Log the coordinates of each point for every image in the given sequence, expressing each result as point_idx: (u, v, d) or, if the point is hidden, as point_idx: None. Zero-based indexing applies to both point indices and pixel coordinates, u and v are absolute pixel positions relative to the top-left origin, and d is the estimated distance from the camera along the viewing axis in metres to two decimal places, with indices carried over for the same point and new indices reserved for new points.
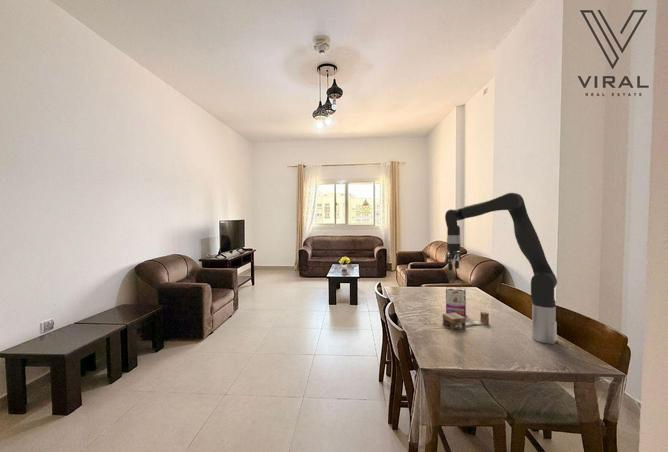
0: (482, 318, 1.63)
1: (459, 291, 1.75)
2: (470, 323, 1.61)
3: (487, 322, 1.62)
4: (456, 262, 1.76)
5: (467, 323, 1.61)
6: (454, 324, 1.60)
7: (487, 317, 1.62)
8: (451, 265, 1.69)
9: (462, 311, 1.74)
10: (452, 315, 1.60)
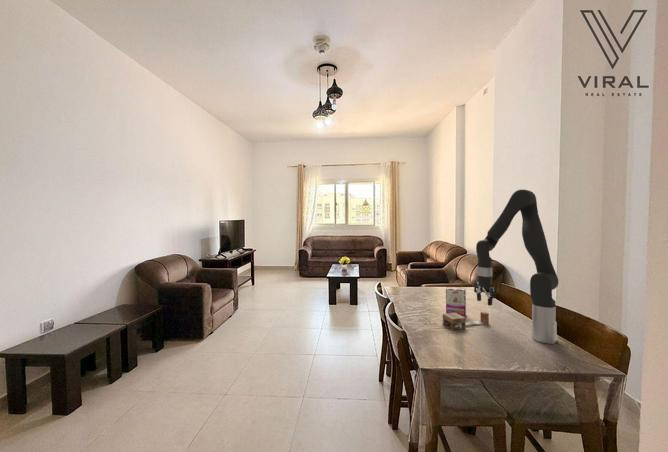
0: (482, 318, 1.63)
1: (459, 291, 1.75)
2: (470, 323, 1.61)
3: (487, 322, 1.62)
4: (479, 294, 1.67)
5: (467, 323, 1.61)
6: (454, 324, 1.60)
7: (487, 317, 1.62)
8: None
9: (462, 311, 1.74)
10: (452, 315, 1.60)
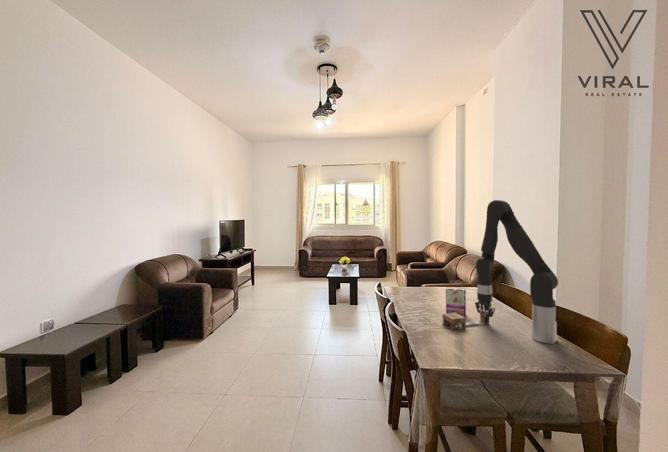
0: (482, 318, 1.62)
1: (459, 291, 1.75)
2: (470, 323, 1.61)
3: None
4: None
5: (467, 323, 1.61)
6: (454, 324, 1.60)
7: None
8: None
9: (462, 311, 1.74)
10: (452, 315, 1.60)
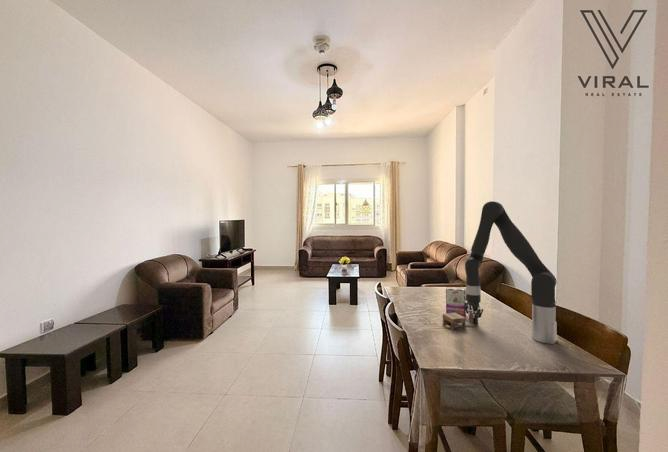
0: (471, 319, 1.61)
1: (459, 291, 1.75)
2: (459, 324, 1.60)
3: None
4: None
5: (456, 324, 1.60)
6: (450, 324, 1.59)
7: None
8: None
9: (462, 311, 1.74)
10: (452, 315, 1.60)
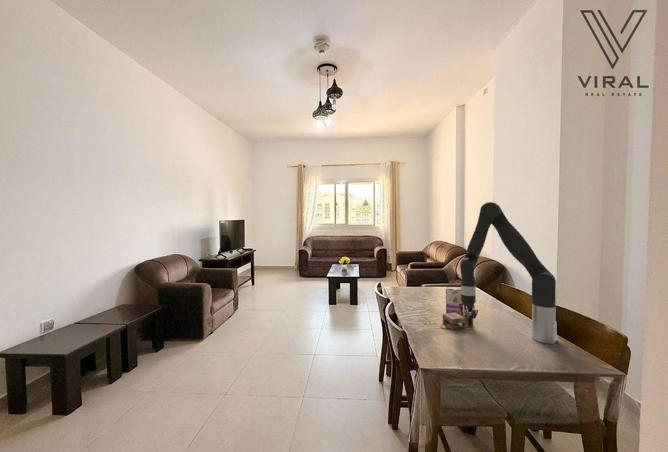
0: (466, 320, 1.61)
1: (459, 291, 1.75)
2: (454, 325, 1.59)
3: None
4: None
5: None
6: (444, 325, 1.59)
7: None
8: None
9: None
10: (452, 315, 1.60)
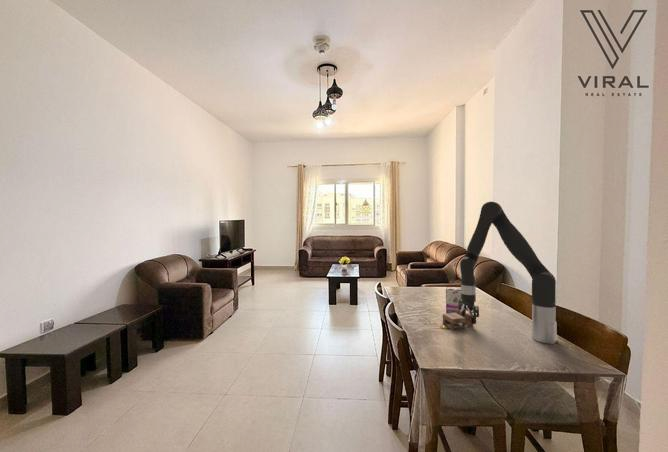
0: (466, 320, 1.61)
1: (459, 291, 1.75)
2: (454, 325, 1.59)
3: (471, 324, 1.60)
4: (463, 312, 1.65)
5: None
6: (444, 325, 1.58)
7: None
8: None
9: None
10: (452, 315, 1.60)
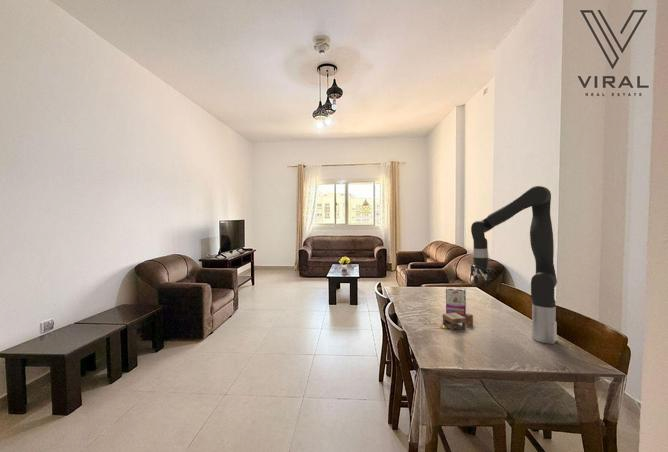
0: (466, 320, 1.61)
1: (459, 291, 1.75)
2: (454, 325, 1.59)
3: (471, 324, 1.60)
4: (476, 277, 1.65)
5: None
6: (444, 325, 1.58)
7: (471, 319, 1.60)
8: None
9: (462, 311, 1.74)
10: (452, 315, 1.60)
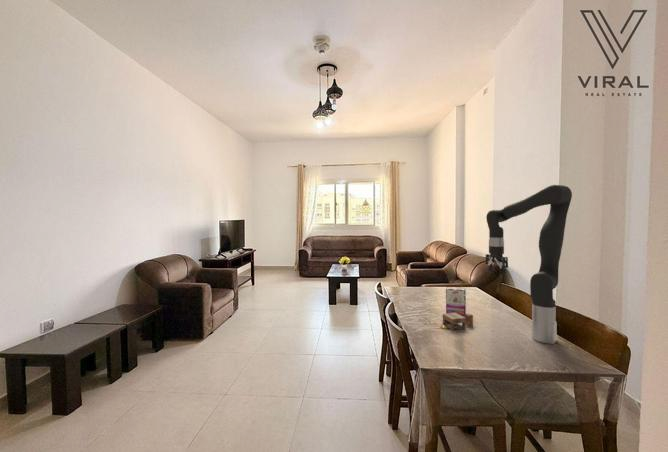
0: (466, 320, 1.61)
1: (459, 291, 1.75)
2: (454, 325, 1.59)
3: (471, 324, 1.60)
4: (490, 266, 1.67)
5: None
6: (444, 325, 1.58)
7: (471, 319, 1.60)
8: None
9: (462, 311, 1.74)
10: (452, 315, 1.60)
